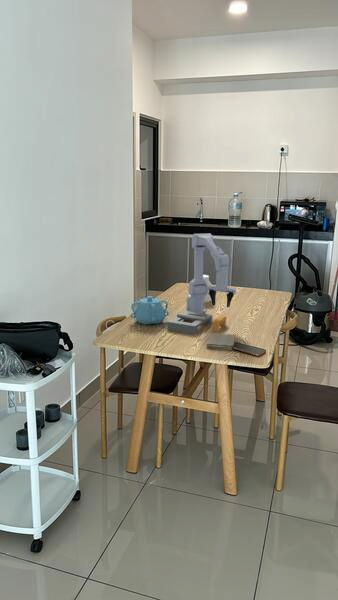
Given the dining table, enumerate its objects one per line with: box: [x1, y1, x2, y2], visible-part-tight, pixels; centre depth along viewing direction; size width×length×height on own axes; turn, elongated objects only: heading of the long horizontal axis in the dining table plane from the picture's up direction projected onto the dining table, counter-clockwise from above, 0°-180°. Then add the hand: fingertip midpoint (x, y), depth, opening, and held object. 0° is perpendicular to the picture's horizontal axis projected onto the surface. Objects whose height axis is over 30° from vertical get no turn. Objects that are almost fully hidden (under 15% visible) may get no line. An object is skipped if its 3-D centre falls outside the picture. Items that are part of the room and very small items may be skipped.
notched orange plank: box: [211, 314, 227, 332], centre depth 237 cm, size 12×3×5 cm, turn 154°
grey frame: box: [166, 310, 213, 335], centre depth 240 cm, size 15×22×6 cm
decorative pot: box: [130, 295, 170, 326], centre depth 244 cm, size 20×20×14 cm
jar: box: [203, 274, 212, 303], centre depth 289 cm, size 12×10×15 cm
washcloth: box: [206, 332, 236, 352], centre depth 215 cm, size 12×18×3 cm, turn 169°
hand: (220, 305), depth 238 cm, fingers open, 7 cm apart
